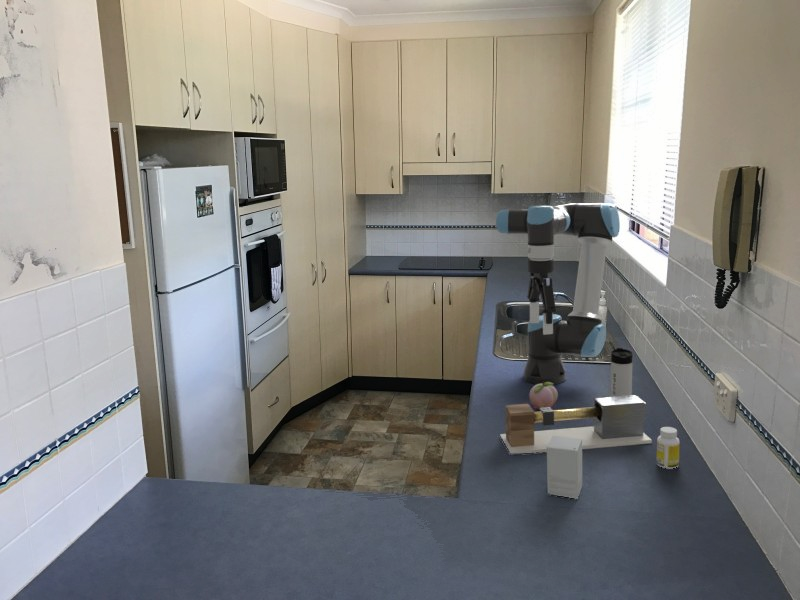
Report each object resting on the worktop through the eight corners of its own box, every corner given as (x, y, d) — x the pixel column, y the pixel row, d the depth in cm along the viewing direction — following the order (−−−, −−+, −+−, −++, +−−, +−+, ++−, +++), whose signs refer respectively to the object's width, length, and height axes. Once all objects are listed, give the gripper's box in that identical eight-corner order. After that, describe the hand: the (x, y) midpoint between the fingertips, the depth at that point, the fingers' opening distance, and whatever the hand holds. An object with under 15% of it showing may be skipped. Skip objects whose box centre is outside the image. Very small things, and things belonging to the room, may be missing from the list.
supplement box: (583, 486, 160) (583, 438, 158) (577, 500, 154) (578, 451, 151) (552, 481, 163) (552, 434, 161) (546, 495, 157) (546, 446, 154)
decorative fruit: (538, 403, 214) (538, 374, 212) (561, 408, 209) (561, 379, 207) (523, 412, 207) (523, 382, 205) (547, 418, 202) (547, 387, 200)
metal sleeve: (593, 430, 189) (594, 398, 187) (635, 427, 190) (636, 394, 188) (602, 439, 183) (602, 405, 181) (645, 435, 184) (646, 402, 182)
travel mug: (628, 408, 207) (629, 347, 203) (633, 416, 200) (635, 353, 196) (607, 408, 208) (609, 347, 203) (612, 416, 201) (613, 354, 197)
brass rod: (512, 423, 185) (511, 409, 184) (601, 415, 187) (601, 402, 186) (515, 428, 181) (515, 414, 181) (605, 420, 183) (606, 407, 183)
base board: (500, 437, 190) (500, 434, 190) (632, 426, 193) (632, 423, 193) (510, 455, 178) (510, 452, 178) (651, 443, 181) (651, 439, 181)
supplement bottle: (680, 463, 169) (682, 427, 167) (676, 471, 165) (678, 435, 163) (658, 458, 172) (660, 424, 170) (654, 467, 168) (655, 431, 166)
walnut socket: (506, 438, 187) (505, 405, 185) (528, 436, 188) (527, 403, 185) (511, 447, 181) (510, 413, 179) (534, 445, 182) (534, 411, 180)
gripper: (517, 253, 204) (517, 319, 209) (541, 266, 180) (541, 340, 184) (540, 252, 205) (540, 317, 209) (567, 264, 181) (567, 338, 185)
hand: (541, 328), depth 197 cm, fingers open, 13 cm apart
